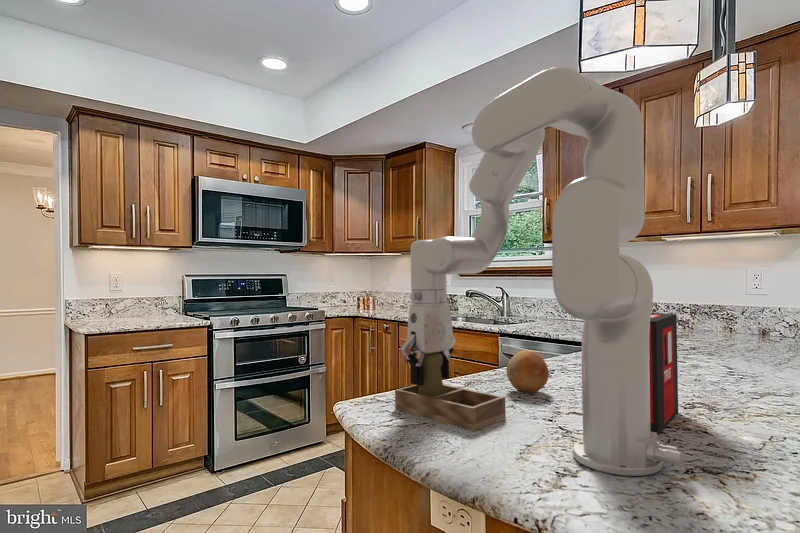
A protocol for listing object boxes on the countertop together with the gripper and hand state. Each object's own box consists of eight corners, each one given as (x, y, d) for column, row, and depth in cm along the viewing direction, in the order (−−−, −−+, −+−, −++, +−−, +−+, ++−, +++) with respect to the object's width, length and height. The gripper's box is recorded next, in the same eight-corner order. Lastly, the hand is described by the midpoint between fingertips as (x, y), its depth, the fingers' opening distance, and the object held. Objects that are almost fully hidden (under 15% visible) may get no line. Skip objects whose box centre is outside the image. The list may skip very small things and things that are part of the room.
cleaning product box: (658, 435, 84) (656, 321, 85) (605, 425, 90) (604, 318, 90) (678, 413, 97) (676, 314, 97) (631, 405, 103) (629, 312, 103)
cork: (442, 408, 98) (441, 354, 98) (413, 406, 100) (412, 353, 100) (448, 400, 104) (447, 349, 104) (421, 399, 106) (420, 349, 106)
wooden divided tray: (505, 418, 95) (505, 397, 95) (473, 431, 88) (473, 408, 88) (428, 399, 110) (428, 381, 110) (395, 409, 102) (395, 389, 102)
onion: (498, 392, 115) (497, 350, 115) (522, 385, 122) (521, 345, 122) (533, 400, 108) (532, 355, 108) (556, 392, 114) (556, 350, 115)
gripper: (413, 301, 93) (414, 392, 93) (468, 296, 106) (469, 377, 106) (387, 299, 99) (388, 385, 99) (441, 295, 111) (443, 372, 111)
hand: (430, 380), depth 102 cm, fingers open, 7 cm apart
